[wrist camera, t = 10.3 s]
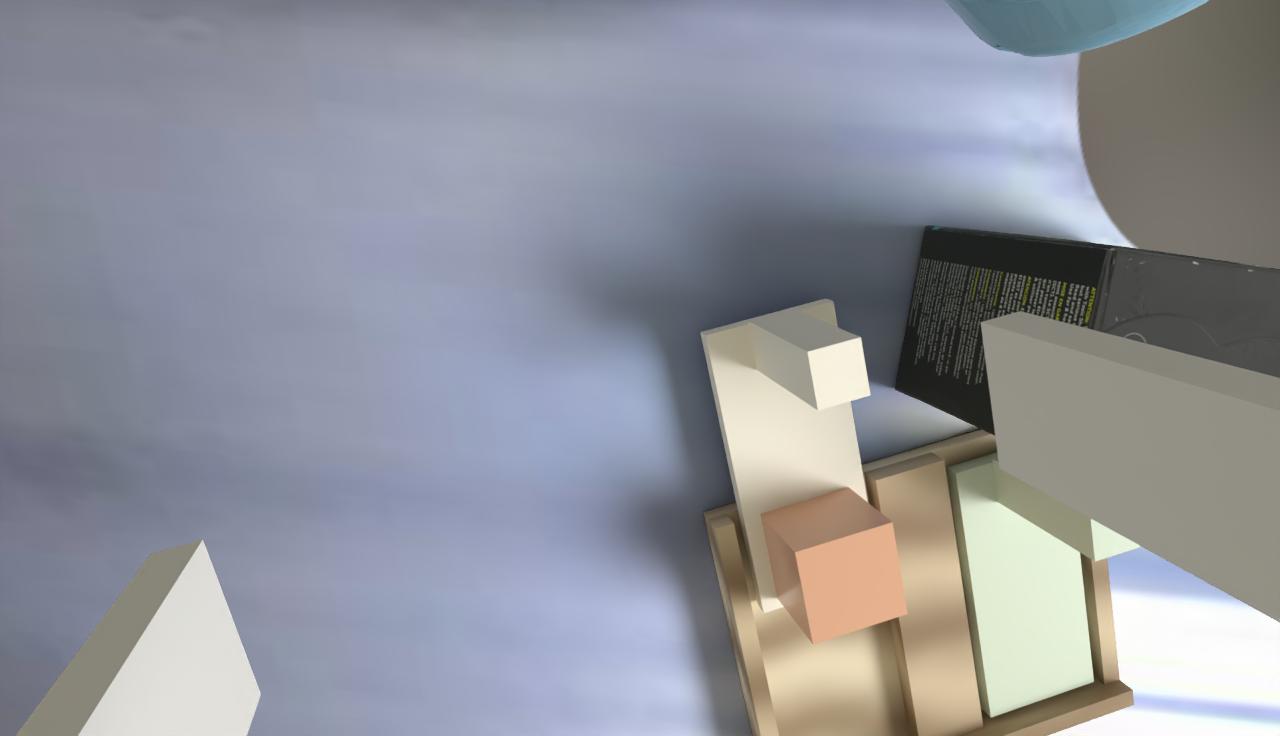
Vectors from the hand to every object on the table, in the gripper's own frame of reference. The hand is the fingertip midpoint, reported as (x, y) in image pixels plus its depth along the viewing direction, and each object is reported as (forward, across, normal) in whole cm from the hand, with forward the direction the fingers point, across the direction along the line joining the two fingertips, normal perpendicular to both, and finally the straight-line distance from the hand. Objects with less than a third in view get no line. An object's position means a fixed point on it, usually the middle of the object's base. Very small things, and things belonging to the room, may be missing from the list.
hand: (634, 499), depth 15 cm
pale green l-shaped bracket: (+30, +24, -24) cm, 45 cm away
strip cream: (+30, +12, -13) cm, 35 cm away
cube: (+29, +12, -18) cm, 36 cm away
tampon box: (+32, +25, -9) cm, 42 cm away
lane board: (+32, +18, -24) cm, 44 cm away
